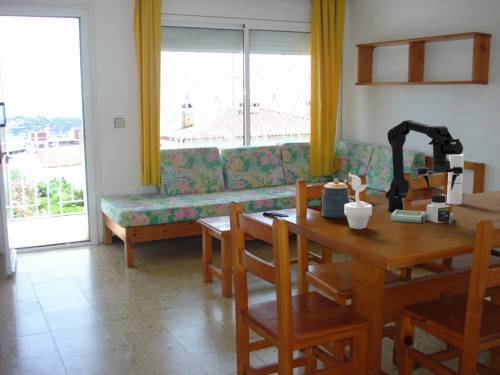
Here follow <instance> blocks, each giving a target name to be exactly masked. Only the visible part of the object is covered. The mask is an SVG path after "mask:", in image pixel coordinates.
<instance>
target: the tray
mask: <svg viewBox="0 0 500 375" xmlns="http://www.w3.org/2000/svg"><path fill="white" fill-rule="evenodd" d="M424 213H425V211H423V210H422V211H420V210H395V211H394V212H392V213H391V215H390V221H391V222H393V221H395V222H405V223H418V224H420V223H421V224H422V223H423V214H424Z"/></svg>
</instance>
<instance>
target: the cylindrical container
mask: <svg viewBox="0 0 500 375" xmlns="http://www.w3.org/2000/svg"><path fill="white" fill-rule="evenodd" d="M448 161H450V168H453V167H460V166H461V167H462V168H463V169H464V167H465V166H464V165H465V154H463V153H461V154H460V155H448ZM447 174H448V176H447V191H446V192H447V193H446V194H447V195H446V204H447V205H462V202H463V201H462V200H463V183H464V181H463V180H464V173H463V174H460V176H457V177H456V179H455V182H454V185H453V189H452V190H451V183H452V175H453V172H447Z"/></svg>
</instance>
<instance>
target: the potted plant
mask: <svg viewBox="0 0 500 375" xmlns="http://www.w3.org/2000/svg"><path fill="white" fill-rule="evenodd" d="M347 175H348V177H349V178H351V182H350V181H349V182H348V184H349V185H350V186H351V188H352V190H353V191H354V192H355V193H354V195H355V196H354V197H355V201H353V202H350V203H348V204H345V205H344V214H345V215H346V216H347V218H346V219H347V222H348V225H349V228H351V229H353V228H354V230H364V229H365V228H366V227H367V224H368V222H369V219H370V217H372V215H373V205H372V204H370V203H368V202H365V201H363V200H360V192H363V191H364V190H366V188H367V187H370V186H371V184H362V179H361V178H360V177H359V176H358V175H355V174H352V173H351V172H348V173H347ZM346 182H347V180H346V179H344V183H346ZM363 228H364V229H363Z"/></svg>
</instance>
